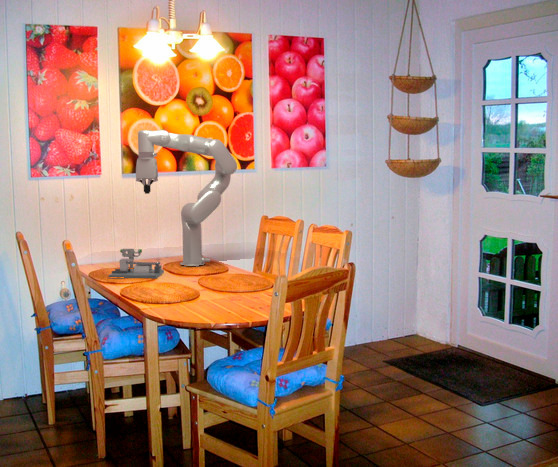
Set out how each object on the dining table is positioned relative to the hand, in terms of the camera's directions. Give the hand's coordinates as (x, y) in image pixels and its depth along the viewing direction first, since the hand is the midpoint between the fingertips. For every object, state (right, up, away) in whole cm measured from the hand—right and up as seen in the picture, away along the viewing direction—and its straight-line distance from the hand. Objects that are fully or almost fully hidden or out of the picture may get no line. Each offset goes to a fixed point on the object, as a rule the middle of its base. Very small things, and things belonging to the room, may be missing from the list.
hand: (147, 193), depth 338 cm
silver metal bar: (+1, -34, -16) cm, 38 cm away
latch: (-7, -38, -15) cm, 41 cm away
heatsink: (+1, -38, -16) cm, 41 cm away
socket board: (-2, -39, -15) cm, 42 cm away
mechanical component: (-8, -37, +2) cm, 38 cm away
